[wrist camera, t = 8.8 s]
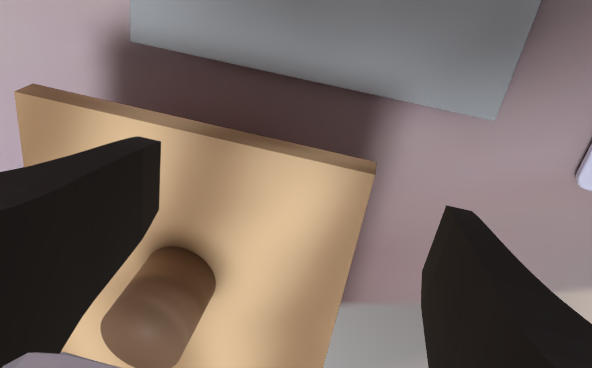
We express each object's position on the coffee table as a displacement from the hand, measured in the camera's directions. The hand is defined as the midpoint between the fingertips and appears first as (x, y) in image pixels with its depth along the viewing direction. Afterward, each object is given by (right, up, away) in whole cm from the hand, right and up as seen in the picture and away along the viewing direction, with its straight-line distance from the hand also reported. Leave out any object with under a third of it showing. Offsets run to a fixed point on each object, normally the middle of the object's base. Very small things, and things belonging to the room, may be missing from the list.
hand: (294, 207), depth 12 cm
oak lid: (-4, -3, +9) cm, 10 cm away
